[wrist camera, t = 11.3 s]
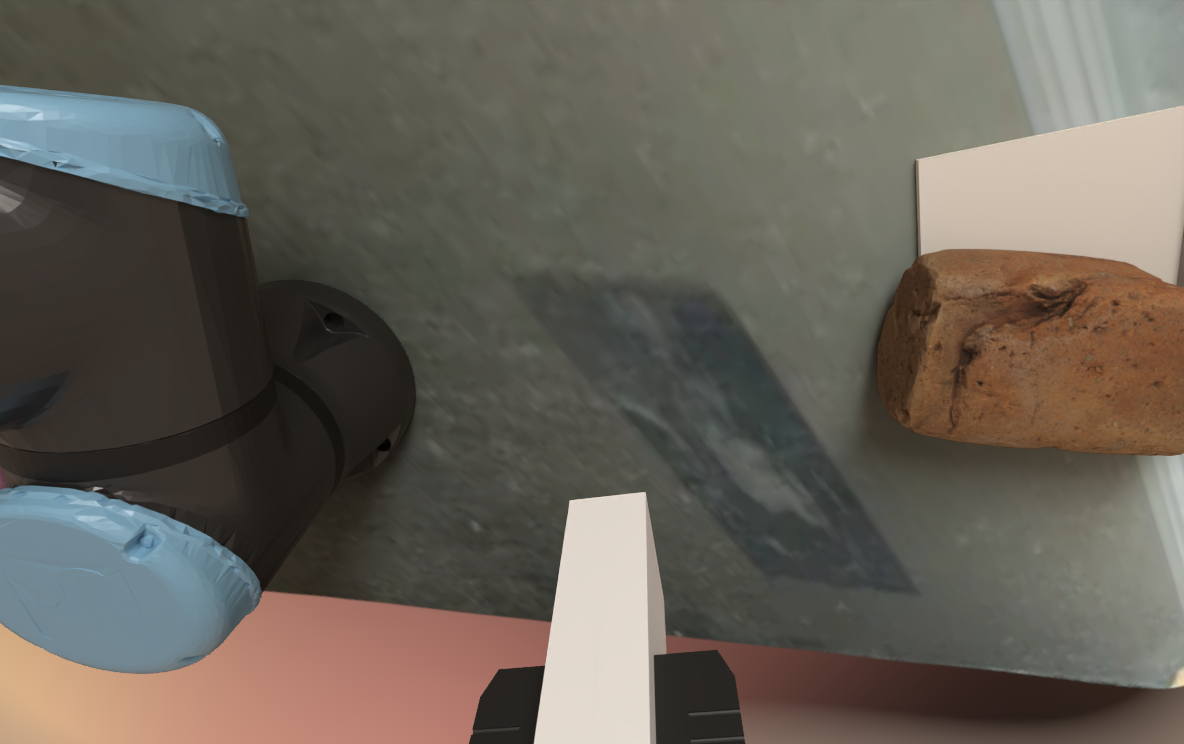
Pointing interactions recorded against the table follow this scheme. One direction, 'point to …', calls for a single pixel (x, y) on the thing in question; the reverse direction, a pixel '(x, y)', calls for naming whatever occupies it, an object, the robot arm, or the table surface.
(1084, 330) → the raisin bread loaf
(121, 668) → the robot arm
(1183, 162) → the mat
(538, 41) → the table surface
